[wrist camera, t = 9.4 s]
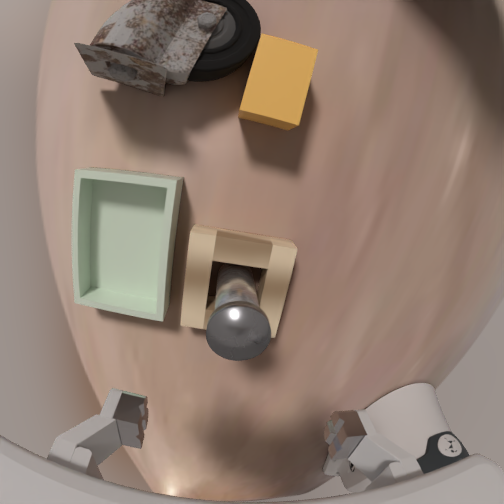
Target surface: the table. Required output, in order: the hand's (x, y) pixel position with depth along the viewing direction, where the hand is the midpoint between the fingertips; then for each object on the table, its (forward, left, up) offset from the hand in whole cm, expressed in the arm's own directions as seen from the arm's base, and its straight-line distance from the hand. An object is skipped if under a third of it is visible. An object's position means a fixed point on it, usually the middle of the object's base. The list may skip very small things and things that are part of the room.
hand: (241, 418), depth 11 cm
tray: (+2, +9, -15) cm, 18 cm away
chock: (+16, 0, -15) cm, 22 cm away
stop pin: (0, 0, -15) cm, 15 cm away
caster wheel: (+19, +8, -15) cm, 26 cm away
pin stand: (0, 0, -15) cm, 15 cm away
